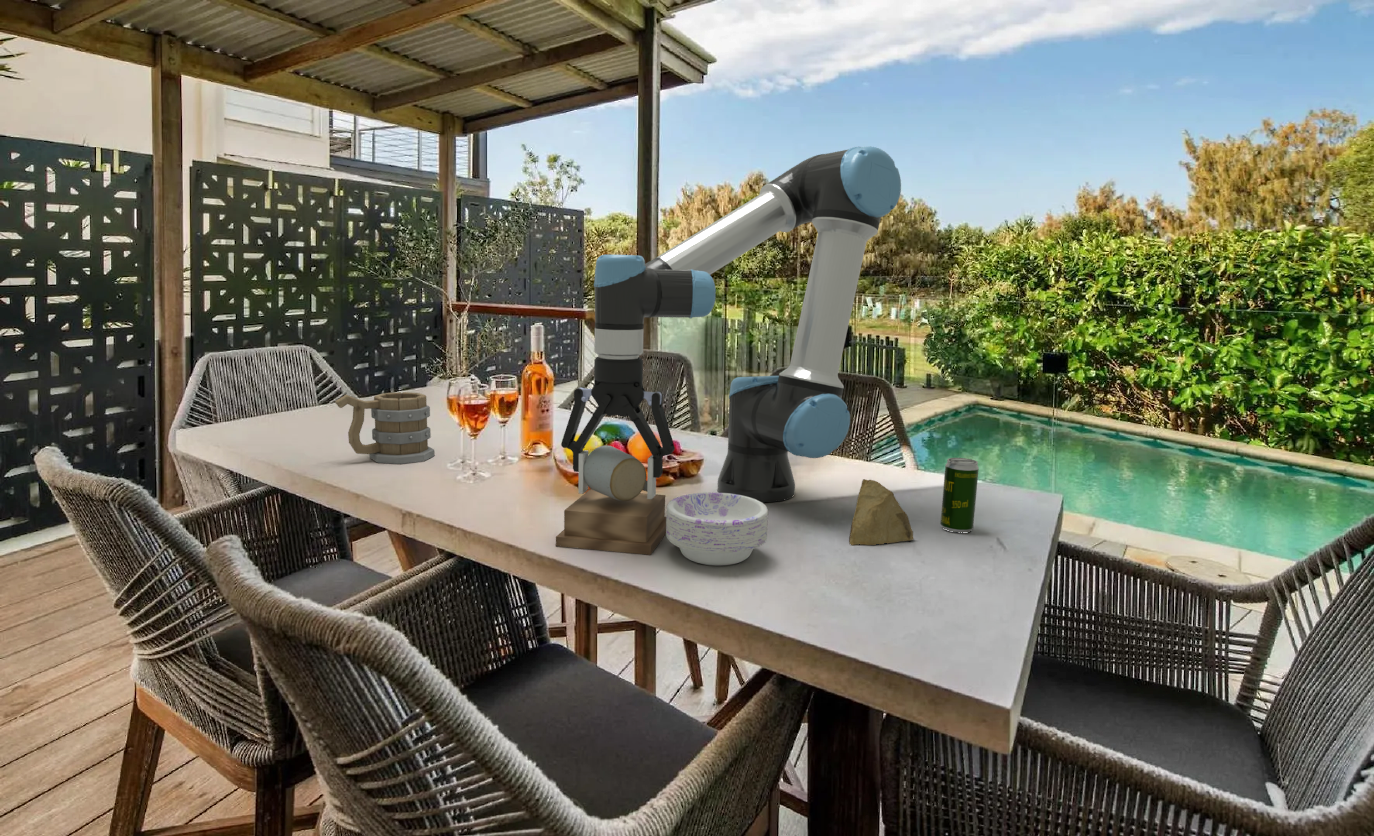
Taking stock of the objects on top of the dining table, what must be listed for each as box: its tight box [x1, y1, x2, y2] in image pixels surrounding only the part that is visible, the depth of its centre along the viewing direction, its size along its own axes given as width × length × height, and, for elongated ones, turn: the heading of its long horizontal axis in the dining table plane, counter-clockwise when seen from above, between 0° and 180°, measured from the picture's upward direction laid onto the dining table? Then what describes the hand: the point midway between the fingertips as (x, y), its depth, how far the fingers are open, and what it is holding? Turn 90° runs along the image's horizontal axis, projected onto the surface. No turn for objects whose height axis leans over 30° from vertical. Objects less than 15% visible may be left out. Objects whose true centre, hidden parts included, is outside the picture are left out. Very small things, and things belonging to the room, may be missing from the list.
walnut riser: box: [555, 488, 667, 556], centre depth 129 cm, size 15×15×6 cm
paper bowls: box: [665, 492, 769, 566], centre depth 121 cm, size 15×15×8 cm
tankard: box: [335, 391, 436, 465], centre depth 176 cm, size 20×13×15 cm, turn 128°
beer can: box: [940, 457, 980, 534], centre depth 137 cm, size 5×5×12 cm
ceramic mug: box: [584, 445, 648, 501], centre depth 129 cm, size 11×8×8 cm
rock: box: [848, 478, 915, 546], centre depth 130 cm, size 11×9×10 cm
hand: (617, 494), depth 129 cm, fingers closed on ceramic mug, 10 cm apart
